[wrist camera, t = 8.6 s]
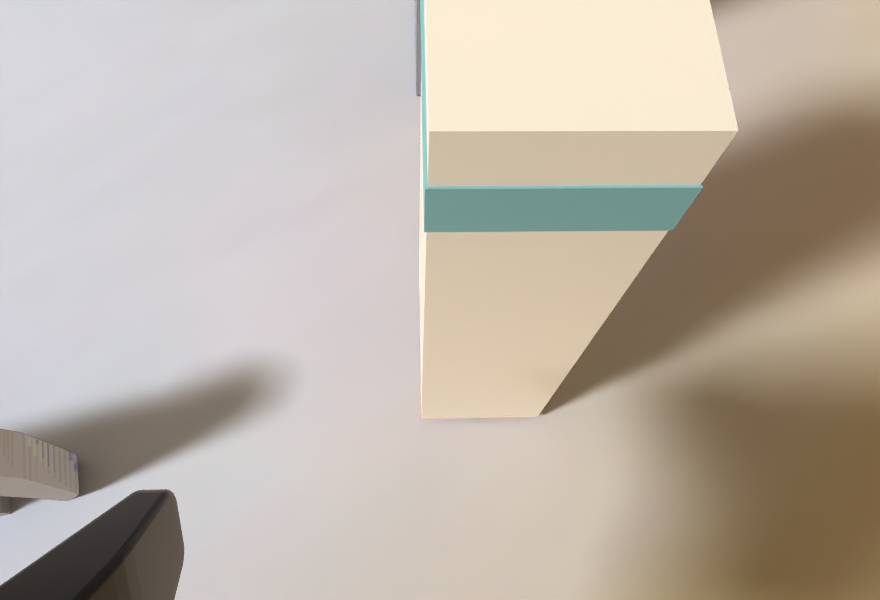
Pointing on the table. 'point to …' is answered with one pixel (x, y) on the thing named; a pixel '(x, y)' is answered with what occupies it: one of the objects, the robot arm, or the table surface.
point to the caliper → (35, 470)
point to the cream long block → (550, 180)
